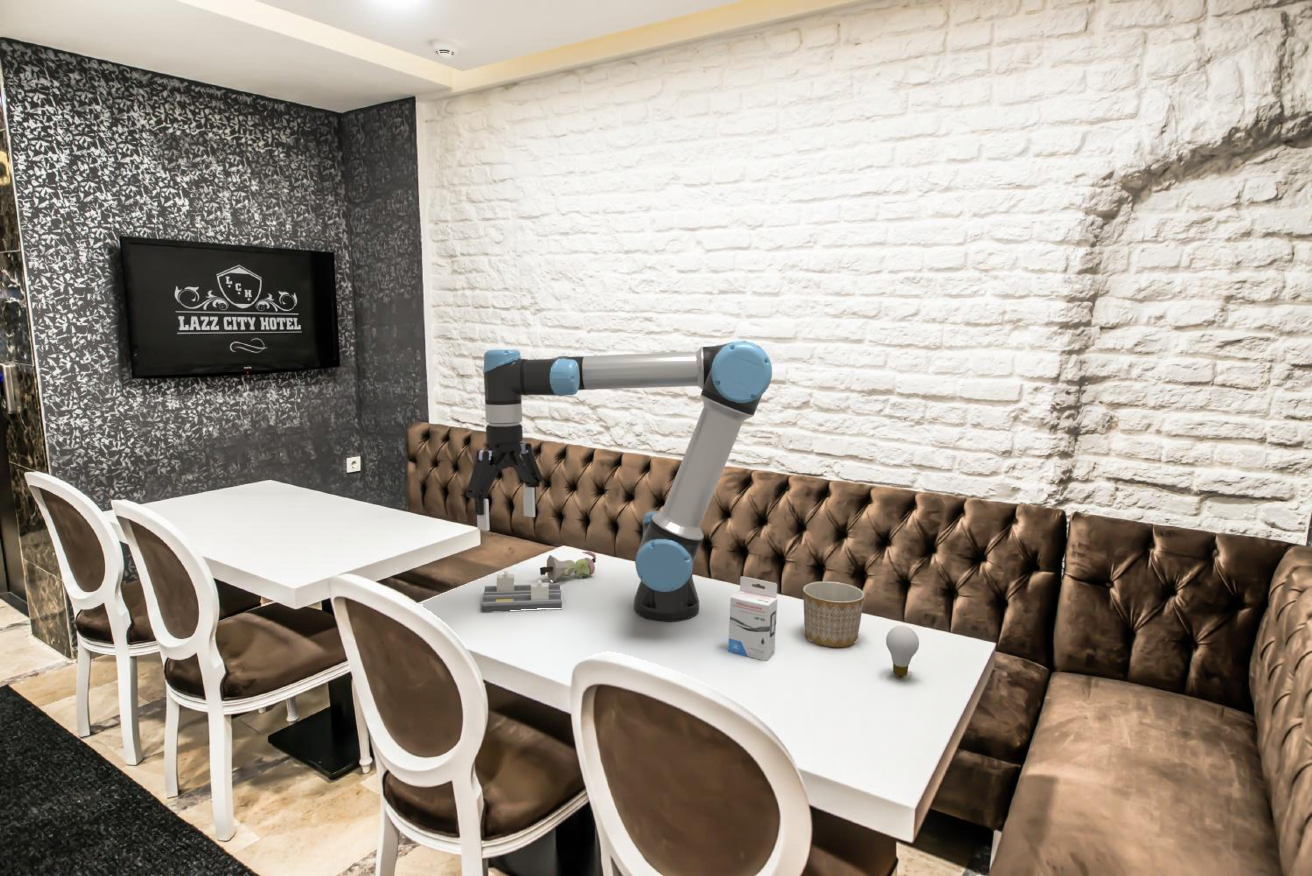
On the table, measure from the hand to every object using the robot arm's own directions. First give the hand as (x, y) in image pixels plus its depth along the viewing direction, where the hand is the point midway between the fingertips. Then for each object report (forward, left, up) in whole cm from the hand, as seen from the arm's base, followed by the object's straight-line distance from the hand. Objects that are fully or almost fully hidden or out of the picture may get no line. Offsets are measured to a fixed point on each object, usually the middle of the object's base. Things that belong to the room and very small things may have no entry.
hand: (507, 522), depth 160 cm
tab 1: (+1, -17, -21) cm, 27 cm away
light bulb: (-74, +34, -23) cm, 84 cm away
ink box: (-49, +20, -23) cm, 58 cm away
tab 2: (-7, -10, -21) cm, 24 cm away
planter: (-68, +15, -23) cm, 73 cm away
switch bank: (-3, -14, -23) cm, 27 cm away
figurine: (-15, -28, -23) cm, 40 cm away
